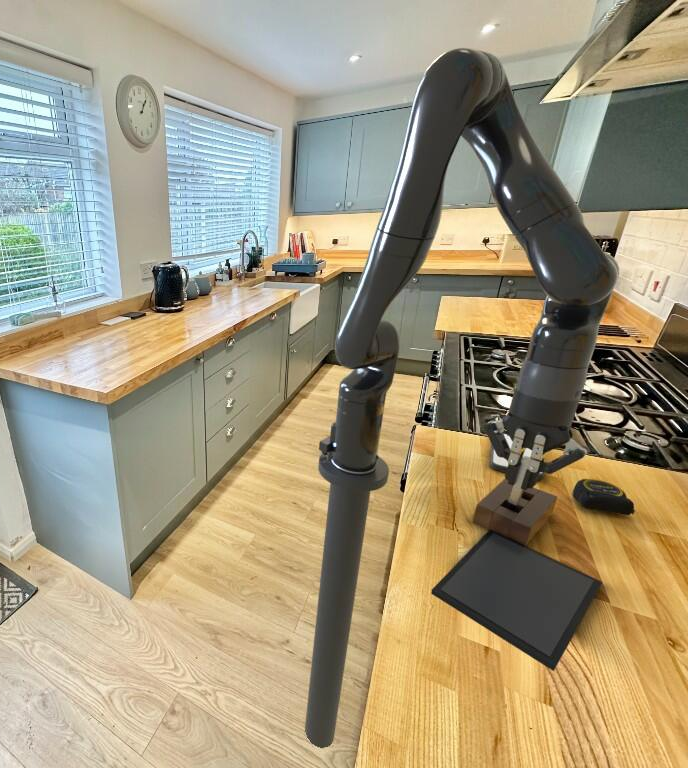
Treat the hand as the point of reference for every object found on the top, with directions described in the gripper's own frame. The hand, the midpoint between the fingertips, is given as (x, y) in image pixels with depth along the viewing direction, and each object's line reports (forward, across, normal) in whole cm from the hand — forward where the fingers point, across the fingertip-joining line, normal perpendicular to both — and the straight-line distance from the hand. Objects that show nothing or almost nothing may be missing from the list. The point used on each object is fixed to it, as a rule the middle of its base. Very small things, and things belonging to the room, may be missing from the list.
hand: (518, 485), depth 69 cm
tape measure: (+9, -8, -18) cm, 21 cm away
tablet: (+8, -6, +14) cm, 18 cm away
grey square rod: (+5, 0, 0) cm, 5 cm away
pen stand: (+8, 0, -3) cm, 9 cm away
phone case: (+9, +7, -26) cm, 28 cm away
